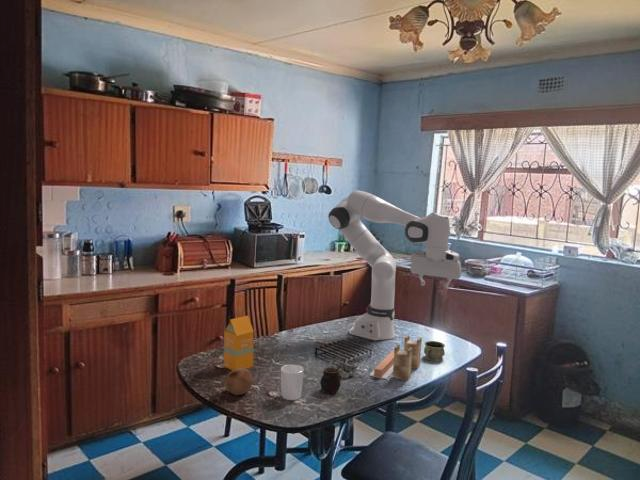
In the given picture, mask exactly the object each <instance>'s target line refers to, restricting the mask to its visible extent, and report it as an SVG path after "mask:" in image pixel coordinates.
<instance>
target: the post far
mask: <svg viewBox="0 0 640 480" xmlns="http://www.w3.org/2000/svg"><path fill="white" fill-rule="evenodd" d="M422 339H423V337H418V338H417V339H416V340H410V335H408V334H407V335H406V336H405V337H404V344H403V347H404V348H403V351H406V352H407V350H408V349H409V348H410V347H412V348H413V349H412V364H411V369H416V370H417V369H419V367H421V355H422V352H421V351H422Z"/></svg>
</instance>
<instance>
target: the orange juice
mask: <svg viewBox="0 0 640 480" xmlns="http://www.w3.org/2000/svg"><path fill="white" fill-rule="evenodd" d="M251 322H252V321H251V320H250V318H249V315H244V316H239V317H236V318H232V319H230V320H229V322H228V324H227V326H226V327H225V330H224V333H223V334H224V335H223V336H224V337H223V345H224V346H223V367H224V368H225V369H229V370H231V371H233V370H234V369H237V368H240V367H241V368H245V369H249V368H251V367H253V366H254V352H255V351H254V347H255V346H254V339H255V337H254V336H255V335H254V334H255V330H254V329H253V328H254V327H253V325H252V323H251ZM224 363H225V364H227V365H229V366H227V365H225V364H224ZM247 365H248V366H247ZM232 367H233V368H232Z"/></svg>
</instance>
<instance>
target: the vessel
mask: <svg viewBox="0 0 640 480" xmlns="http://www.w3.org/2000/svg"><path fill="white" fill-rule="evenodd" d="M424 345H425V346H424V349H423V353H424V354H425V356H424V358H425V359H426V360H428V361H432V362H442V361H443V358H444V356H445V354H446V352H445V347H446V345H445V344H444V343H443V342H441V341H437V340H428V341H427V340H426V341H425V342H424Z"/></svg>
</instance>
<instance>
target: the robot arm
mask: <svg viewBox="0 0 640 480" xmlns="http://www.w3.org/2000/svg"><path fill="white" fill-rule="evenodd" d="M361 218H362V219H365V220H367V221H369V222H372V223H375V224H376V223H377V224H387V223H388V224H398V225H400V226H403V227H404V235H405V238H406V239H407V241H409V242H410V243H414V244H420V243H425V251H416V250H415V251H413V252H412V253H411V255H410V259H411V264H410V267H409V268H410V273H411V274H413V275H418V279H419V280H420V286H422V287H423V286H424V287H425V286H426V280H424V279H423V277H424V276H428V277H436V278H437V277H438V278H445V279H446V281H447V282H446V283H444V284H443V289H445V290H448V289H449V286H450V283H451V282H452V280H458V279H460V278H461V277H462V264H461V261H460V253H457V252H456V251H454V250H453V251H452V250H450V249H449V238H450V232H451V231H450V228H451V227H450V225H451V224H450V219H449V216H447V215H446V214H443V213H440V212H431V213H428V215H426V216H424V217H421V216H418V215H416V214H413V213H411V212H409V211H407V210H404V209H401V208H399V207H397V206H395V205H393V204H392V203H390V202H388V201H386V200H384V199H382V198H381V197H378V196H377V195H374V194H373V193H370V192H367V191H363V190H359V189H356V190H353V191H351V192H350V193H349V195H348V196H346V197H344V198H343V199H342V200H341V201H340V202H339V203H338V204H337V205H336V206H335V207H333V208H332V209H331V210H330V211H329V213H328V221H329V223H330V224H331V226H332V227H333V228H335V229H337V230H340V232H341V234H342V235H343V237H344V238H345V240H346V241H347V242H348V243H349V245H350V246H351V247H352V248H353V250H354V251H355V252H356V253H357V254H358V255H359V256H360V258H362V259H363V260H364V261H365V262H366V263H367V264H368V265H369V266H370V268H371V292H370V293H371V295H370V296H371V297H370V304H368V305H367V307H366V308H365V311H366V312H365V313H364V314H362V315H360V316H359V317H357V319H355V321H354V325H353V326H352V327H351V328H350V329H349V331H348V333H349V335H352V336H357V337H360V338H365V339H368V340H372V341H380V340H382V341H383V340H391V339H394V338H395V337H396V334H395V326H394V325H395V323H394V319H395V314H396V313H395V294H396V293H395V292H396V273H397V272H396V270H397V262H396V260H395V258H394V257H393V255H391V253H390V252H389V251H388V250H387V249H386V248H385V247H384V246H383V245H382V244H381V243H380V242H379V241H378V240H377V239H376V237H375V236H374V235H373V234H372V232H370V230H369V229H368V228H367V226H366V225H365V224H364V223H363V222H362V221H361Z"/></svg>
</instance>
